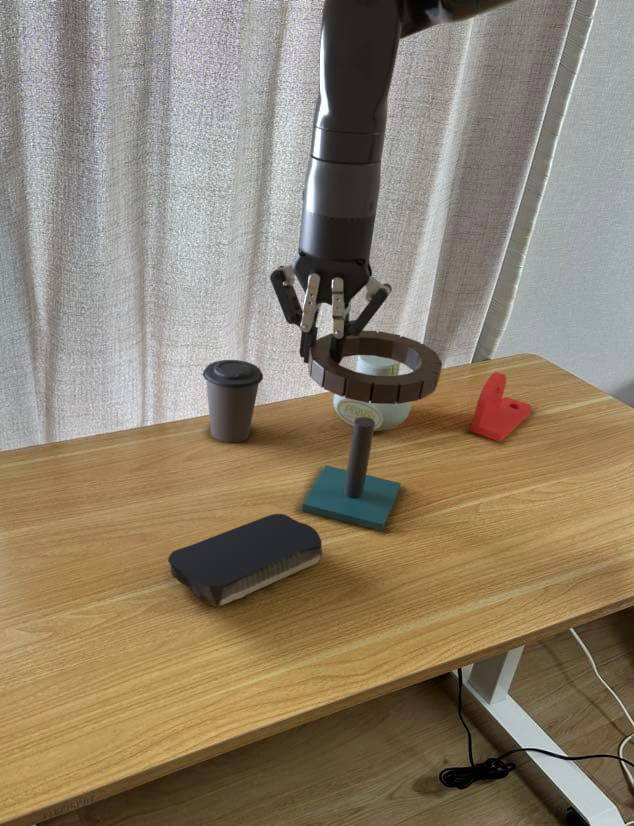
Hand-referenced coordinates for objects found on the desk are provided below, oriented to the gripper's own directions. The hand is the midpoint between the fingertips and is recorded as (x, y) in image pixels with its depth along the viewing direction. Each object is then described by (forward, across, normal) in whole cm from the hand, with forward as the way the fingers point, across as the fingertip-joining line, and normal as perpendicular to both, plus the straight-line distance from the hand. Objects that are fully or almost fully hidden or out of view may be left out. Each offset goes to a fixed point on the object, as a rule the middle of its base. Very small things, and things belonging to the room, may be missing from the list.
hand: (320, 362), depth 92 cm
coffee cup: (+17, +14, -9) cm, 24 cm away
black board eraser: (+17, +1, +19) cm, 26 cm away
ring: (0, -6, 0) cm, 6 cm away
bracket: (+17, -21, -30) cm, 41 cm away
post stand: (+17, -6, 0) cm, 18 cm away
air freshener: (+17, -3, -21) cm, 27 cm away
